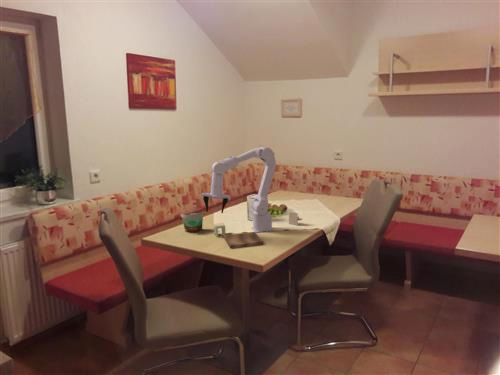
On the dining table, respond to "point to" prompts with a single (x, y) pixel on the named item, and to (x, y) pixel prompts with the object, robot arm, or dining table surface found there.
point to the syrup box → (250, 206)
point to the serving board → (243, 240)
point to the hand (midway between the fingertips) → (214, 212)
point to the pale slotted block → (217, 226)
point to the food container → (193, 222)
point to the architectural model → (294, 218)
